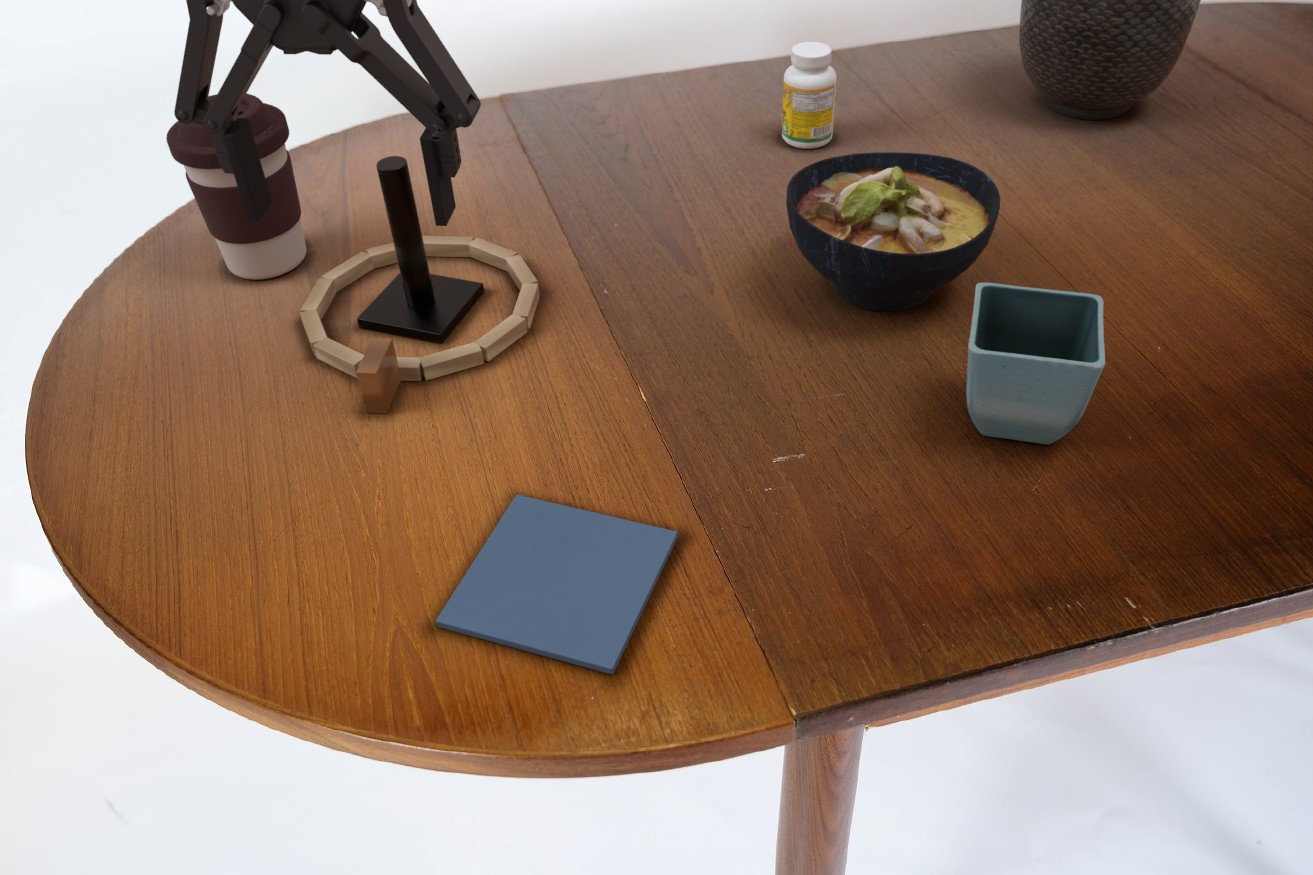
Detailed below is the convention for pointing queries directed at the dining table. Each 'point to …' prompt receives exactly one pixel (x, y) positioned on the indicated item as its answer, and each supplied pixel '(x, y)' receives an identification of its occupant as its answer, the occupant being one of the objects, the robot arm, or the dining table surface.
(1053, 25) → the planter
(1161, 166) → the dining table surface
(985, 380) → the flower pot
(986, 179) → the bowl
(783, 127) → the supplement bottle
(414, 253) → the post on square base
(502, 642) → the mat
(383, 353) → the segmented ring with tab
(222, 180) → the coffee cup
